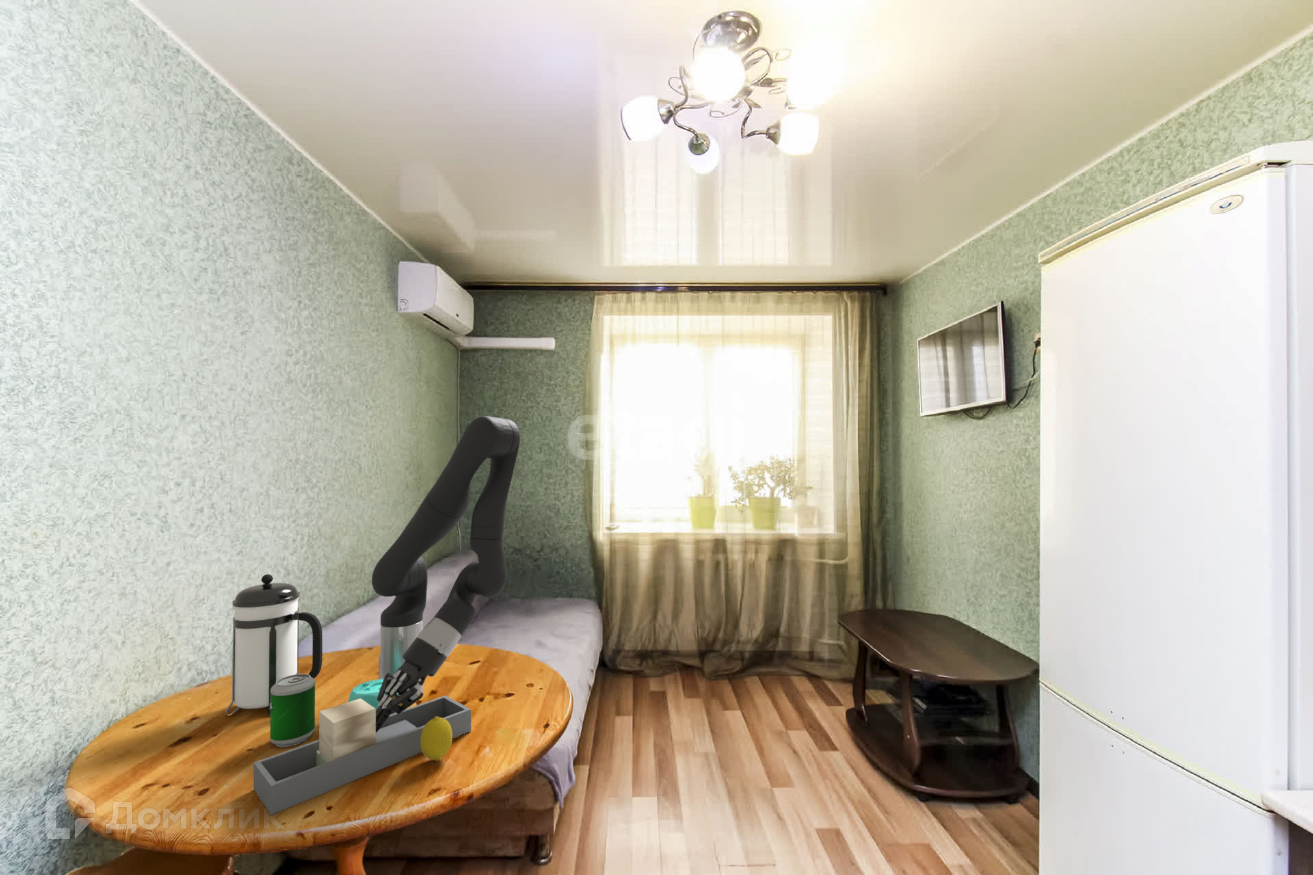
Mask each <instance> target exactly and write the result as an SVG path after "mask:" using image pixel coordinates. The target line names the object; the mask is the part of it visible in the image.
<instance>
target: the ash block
mask: <svg viewBox="0 0 1313 875" xmlns="http://www.w3.org/2000/svg"><path fill="white" fill-rule="evenodd" d="M318 713H319V715H318V716H319V719H318V720H319V722H318V723H319V726H318V728H319V730H318V734H319V735H318V738H319V739H318V740H319V754H320V755H321V756H322V757H323V758H324V759H325V760H326V761H328V762H329V761H332V760H334V759H337V758H340V757H342V756H345V755H348V754H350V753H353V752H355V751H358V750H361V749H363V748H366V747H369V746H371V745H374V744H376V709H375V708H374V707H372V706H371V705H369V704H368V703H366V702H365V701H364V700H362V699H361V698H360V699H357V700H354V701H350V702H348V701H347V702H344V703H342V704H339V705H335V706H332V707H329V708H326V709H323V710H320V711H319V712H318Z"/></svg>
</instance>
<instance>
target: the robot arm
mask: <svg viewBox="0 0 1313 875" xmlns="http://www.w3.org/2000/svg"><path fill="white" fill-rule="evenodd" d="M520 443H521V432H520V428H519V426H518V425H517V424H516V422H514V421H513V420H510V419H509V418H508V419H507V418H503V417H495V416H490V415H482V416H481V415H480V416H478V417H476V418H474V419H473V420H471V421H470V422H469V424H468V425H467V427H466V428H465V430H464V432H463V433H462V435H461V437H460V439H459V441H458V443H457V445H456V447H455V449H454V451H453V453H452V455H451V457H450V459H449V460H448V461H447V464H446V465H445V467H444V469H443V470H442V472H441V474H440V475H439V476H438V479H437V480H436V481H435V483H434V485H432V487H431V488H430V489H429V491H428V493H427V495H426V496H425V497H424V499H423V500H422V501H421V503H420V505H419V507H418V508H417V510H416V511H415V513H414V515H413V516H412V517H411V518H410V520H409V521H408V523H407V525H406V526H405V527H404V529H403V530H402V532H401V533H400V534H399V536H398V538H397V539H396V540H395V541H394V543H393V544H392V545H391V546H390V547H389V548H388V549H387V551H386V552H385V553H384V554H383V555H382V556H381V558H380V559H379V560H378V562H377V563H376V564H375V566H374V568H373V571H372V575H371V586H372V589H373V591H374V592H375V593H376V594H377V595H378V596H381V597H385V598H387V597H394V599H393V600H392V601H391V603H390V604H389V605H387V607H386V608H385V609H383V611H382V612H381V614H380V621H379V622H380V654H379V655H378V679H384V680H383V683H382V686H381V688H380V691H379V694H378V697H377V700H378V701H379V704H378V706H379V707H378V709H377V710H376V732H378V730H379V729H380V728H381V727H382V725H383V724H384V722H385V721H386V720H387V718H388V717H389V716H390V715H391V714H394V713H397V714H400V713H401V712H403V711H404V710H405V709H408V708H411V707H412V705H414V704H415V703H417V702H418V701H420V700H421V699H422V698H423V697H424V692H423V690H424V689H423V688H424V687H423V686H424V683H425V681H426V679H427V677H435V675H436V674H437V673H438V672H439V670H440V668H441V667H442V666H443V664H444V663H445V661H446V660H447V659H448V657H449V656H450V654H451V653H452V652H453V650H454V649H455V648H456V646H457V645H458V642H459V641H460V639H461V638H462V636H463V635H464V633H465V632H466V630H467V629H468V628H469V626H470V625H471V623H472V622H473V621H474V619H475V617H476V613H477V611H476V609H475V607H474V606H473V603H474V602H475V599H476V597H477V596H480V597H482V598H485V599H493V598H496V597H498V596H499V595H500V594H501V593H502V591H504V589H505V586H506V583H507V578H508V573H507V572H508V571H507V569H508V568H507V564H506V562H507V561H506V557H505V551H504V546H503V540H504V532H505V531H504V528H505V515H506V509H507V508H506V507H507V501H508V496H509V492H510V487H511V483H512V480H513V474H514V471H515V465H516V462H517V458H518V454H519V448H520ZM487 459H490V463H489V464H490V465H489V467H490V468H489V473H488V476H487V480H486V482H485V485H484V487H483V489H482V491H481V493H480V495H479V497H478V499H477V501H476V503H475V505H474V508H473V511H472V514H471V522H470V524H471V525H470V536H469V546H470V550H472V552H474V553H475V554H476V555H477V560H475V561H472V562H470V563H469V564H467V565H466V566H465V567H463V569H461V571H460V572H459V574H458V576H457V577H456V580H455V582H454V584H453V585H452V588H451V590H450V591H449V594H448V597H447V599H446V601H445V602H444V603H443V605H442V606H441V607H440V608H439V609H438V611H437V612H436V613H435V615H434V617H432V619H431V620H430V621H429V622H427V624H426V625H425V626H424V624H423V622H424V617H423V616H424V612H425V609H426V606H427V594H428V593H427V591H428V567H427V564H426V561H425V559H424V557H422V556H423V555H424V554H425V553H426V552H428V551H429V550H430V549H431V548H433V547H434V546H435V545H436V544H438V543H439V542H441V541H442V540H443V539H444V538H445V537H447V536H448V535H449V534H450V533H451V532H452V531H453V529H454V528H455V527H456V526H457V525H458V524H459V521H461V519H462V517H463V516H464V514H465V513H466V511H467V509H468V507H469V505H470V500H471V499H470V498H471V484H472V483H471V482H472V480H473V478H474V475H475V474H476V473H477V471H478V470H479V468H480V467H481V465H482V464H483V463H484V462H485V461H486V460H487ZM397 693H398V694H397ZM384 694H385V695H384Z"/></svg>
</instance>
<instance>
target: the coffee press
mask: <svg viewBox="0 0 1313 875" xmlns="http://www.w3.org/2000/svg"><path fill="white" fill-rule="evenodd" d="M273 580H274V577H273V575H271V574H268V573H267V574H264V575H263V576H262V577H261V579H260V581H261V583H262V584H257V585H252V586H249V587H246V588H244V589H242V590H241V591H239V592H238V593H237V594H236V596H235V598H234V599H233V601H232V603H231V606H232V608H231V610H232V611H233V612H234V614H233V618H232V662H231V663H232V666H231V668H232V669H231V670H232V671H231V673H232V674H231V679H232V680H231V701H230V704H229V705H228V707H226V709H225V711H224V714H225V715H226V716H227V717H229V716H228V715H227V714H228V712H229V710H230V709H231V708H232V707H233V705H235V706H236V707H235V709H233V711H232V712H233V713H232V712H231V713H232V714H233V715H235V713H236V712H238V711H239V710H241V709H246V710H252V709H253V710H256V709H262V708H267V712H268V716H270V700H271V688H272V686H273V685H275V684H276V682H277V681H278V680H279V679H281V678H284V677H287V676H290V675H296V674H299V629H300V628H299V625H300V624H299V621H301V622H302V621H303V622H306V623H308V625H309V626H310V628H311V634H312V657H311V658H312V660H311V661H312V664H311V665H312V666H311V669H310V671H309V673H307V674H308V675H310V677H312V678H314V679H316V678H317V677H318V676H319V674H320V672H321V670H322V666H323V628H322V624H321V621H320V620H319V619H318V617H317V616H316V615H315V614H313V613H310V612H306V611H301V612H300V611H299V610H300V609H299V603H298V602H299V599H300V595H301V593H300V591H298V589H297V588H296V586H295V585H293V584H291V583H286V582H273ZM271 582H272V583H271Z"/></svg>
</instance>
